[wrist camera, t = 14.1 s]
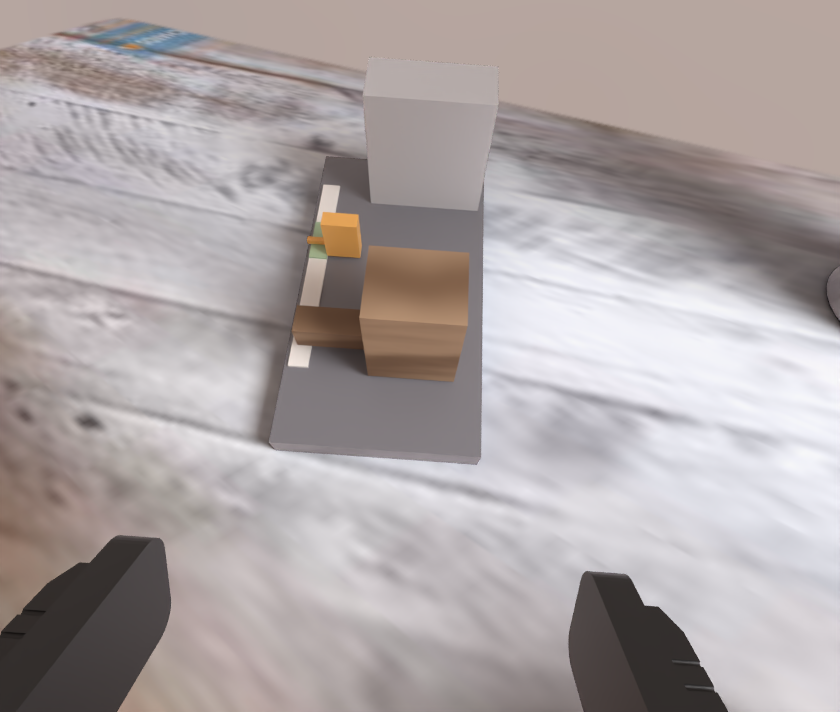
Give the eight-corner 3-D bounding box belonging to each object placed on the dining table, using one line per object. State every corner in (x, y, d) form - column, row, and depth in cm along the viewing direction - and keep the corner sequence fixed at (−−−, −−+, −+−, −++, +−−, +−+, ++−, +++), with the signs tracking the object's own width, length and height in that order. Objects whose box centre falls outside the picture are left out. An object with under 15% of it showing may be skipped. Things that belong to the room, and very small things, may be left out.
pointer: (360, 258, 39) (356, 227, 36) (306, 254, 39) (298, 223, 36) (361, 245, 39) (358, 214, 36) (309, 241, 39) (300, 210, 36)
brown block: (453, 381, 34) (467, 325, 27) (296, 370, 34) (268, 311, 27) (455, 319, 37) (469, 252, 29) (308, 309, 37) (285, 239, 29)
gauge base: (476, 464, 34) (511, 405, 24) (275, 450, 34) (217, 384, 23) (480, 184, 46) (505, 57, 35) (329, 173, 46) (306, 43, 35)
